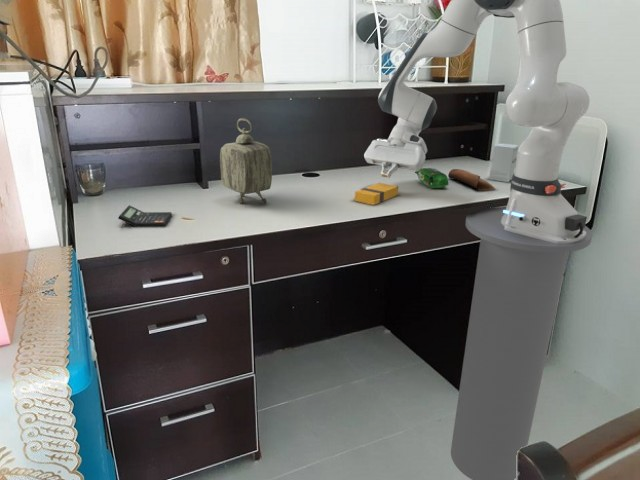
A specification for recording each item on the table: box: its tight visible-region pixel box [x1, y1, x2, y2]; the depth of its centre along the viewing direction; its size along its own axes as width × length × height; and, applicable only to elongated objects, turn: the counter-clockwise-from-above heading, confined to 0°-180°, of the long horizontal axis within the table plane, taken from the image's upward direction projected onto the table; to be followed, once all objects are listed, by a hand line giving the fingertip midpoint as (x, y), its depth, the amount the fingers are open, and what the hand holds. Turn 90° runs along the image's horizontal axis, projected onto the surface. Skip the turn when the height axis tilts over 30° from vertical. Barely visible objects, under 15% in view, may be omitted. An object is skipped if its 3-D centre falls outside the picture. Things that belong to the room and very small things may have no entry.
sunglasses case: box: [447, 168, 496, 192], centre depth 179 cm, size 18×7×7 cm, turn 19°
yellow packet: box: [354, 182, 399, 206], centre depth 160 cm, size 3×7×15 cm
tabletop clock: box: [219, 117, 273, 204], centre depth 150 cm, size 14×9×25 cm, turn 45°
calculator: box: [117, 205, 173, 228], centre depth 136 cm, size 9×12×3 cm
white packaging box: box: [488, 143, 520, 183], centre depth 185 cm, size 7×7×13 cm
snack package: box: [414, 167, 449, 189], centre depth 177 cm, size 7×16×5 cm, turn 12°
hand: (384, 176), depth 162 cm, fingers closed
